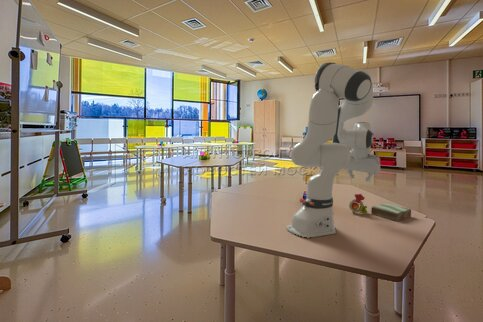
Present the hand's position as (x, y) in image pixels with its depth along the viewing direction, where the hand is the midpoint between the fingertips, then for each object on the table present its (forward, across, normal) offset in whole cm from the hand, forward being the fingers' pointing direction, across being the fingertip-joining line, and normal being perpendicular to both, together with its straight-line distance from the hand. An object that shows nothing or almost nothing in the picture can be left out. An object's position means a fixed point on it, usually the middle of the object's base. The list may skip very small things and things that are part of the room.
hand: (359, 179), depth 133 cm
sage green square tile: (+18, -11, -10) cm, 24 cm away
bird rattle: (+19, 0, 0) cm, 19 cm away
